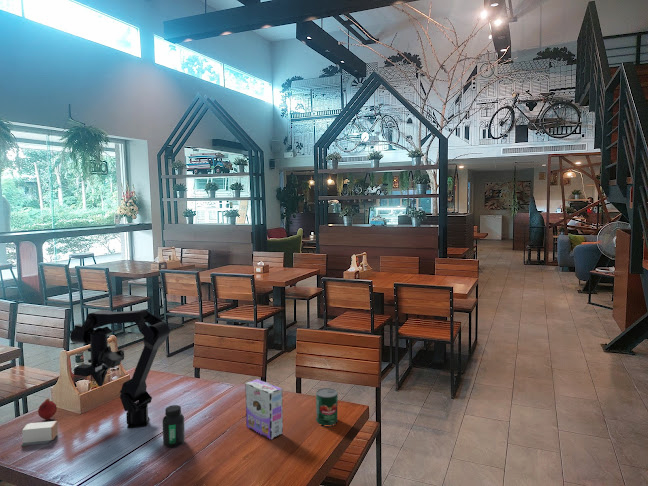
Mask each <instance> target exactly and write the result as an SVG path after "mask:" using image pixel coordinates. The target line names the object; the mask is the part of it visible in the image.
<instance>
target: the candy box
mask: <svg viewBox="0 0 648 486" xmlns="http://www.w3.org/2000/svg"><path fill="white" fill-rule="evenodd" d="M244 384H245V417H246V418H245V419H246V421H245V422H246V423H245V426H246V428H247V427H248V429H249V428H250V430H251V429H252V430H251V431H253V430H254V431H253V432H255V431H256V432H255V433H257V432H258V433H257V434H259V433H260V434H259V435H260V436H262V437H265V436H266V437H267V438H266V437H265V438H266V439H268V438H269V440H270V439H271V440H273V438H274V437H276V438H277V436H278V437H280V436H282V435H283V434H284V432H283V431H284V428H283V426H284V425H283V424H284V423H283V422H284V421H283V416H284V415H283V411H284V409H283V388H281V387H279V386H277V385H274V384H271V383H269V382H266V381H264V380H261V379H259V378H256V379H254V380H250V381H247V382H245V383H244ZM282 433H283V434H282ZM281 434H282V435H281ZM279 435H280V436H279ZM274 439H275V438H274Z"/></svg>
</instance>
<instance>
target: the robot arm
mask: <svg viewBox="0 0 648 486" xmlns="http://www.w3.org/2000/svg"><path fill="white" fill-rule="evenodd" d="M84 320H85V321H84V322H83V323H78V324H75V325H74V328H73V329H72V330H71V333H70V335H69V338H70V341H71V343H74V344H84V345H90V346H89V348H87V352H90V358H89V359H88V360H87V362H88V363H90V364H88V363H87V364H86V363H82V364H80V365H77V366H75V367H74V368H73V375H74V376H79V377H85V378H87V377H89V376H91V377H92V378H93V379H94V381H95V383H96V384H97V386H98V387H99V388H100V387H103V386H104V382H105V379H106V376H107V373H108V371H109V370H110V369H114V368H115V367H118V366H120V365H121V362H122V361H124V360H125V351H124V350H123V349H118V350H117V351H112V348H111V346H109V345H108V335H109V334H111V333H112V332H113V330H112V329H111V328H109V326H107V325H114V324H115V325H116V324H128V323H129V324H130V323H135V325H136V326H137V328H138V331H139V333H140V334H142V336H143V337H142V341H143V344H144V345H143V349H142V351H141V354H140V356H139V358H138V361H137V364H136V366H135V369H134V372H133V374H132V377H131V378H130V379H128V380H125V381H124V382H123V383H122V385H121V389H120V391H119V399H120V401H121V405H122V406H123V409H124V412H126V415H125V416H126V424H127V426H126V427H127V429H131V428H141V427H142V428H143V427H146V426H148V423H149V421H150V416H149V407H148V405H149V404H151V402H152V399H153V397H152V396H151V395H150V394H149V392H148V391H147V387H148V386H147V381H146V380H147V378H148V376H149V373H150V370H151V368H152V365H153V363H154V361H155V357H156V355H157V353H158V350H159V348H160V347H161V346H162V345H163V343H164V342H165V341H166V340H167V338H168V336H169V335H170V333H171V329H170V327H169V325H168V324H167V322H165V321H164V320H162V319H161V318H160V317H158V316H156V315H154V314H153V313H151V312H150V311H148V310H147V309H140V310H139V309H138V310H125V311H112V310H110V309H99V310H97V311H93V312H90V313H87V315H86V319H84ZM149 324H150V325H149Z"/></svg>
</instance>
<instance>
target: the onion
mask: <svg viewBox="0 0 648 486" xmlns="http://www.w3.org/2000/svg"><path fill="white" fill-rule="evenodd" d="M37 410H38V412H37V413H38V416H39V417H40V419H43V420H47V421H49V420H51V418H53V416H55V414H56V413H57V410H58V407H57V404H56V403H55V402H54V401H52V400H50V398H49V397H48V398H46V399H45V400H44V401H43V402H42V403H41V404H40V405H39V407H38V409H37Z"/></svg>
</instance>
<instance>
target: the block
mask: <svg viewBox="0 0 648 486" xmlns="http://www.w3.org/2000/svg"><path fill="white" fill-rule="evenodd" d="M58 428H59V427H58V420H52V421H42V422H30V423H27V424H26V425H25V426H24V428H23V429H22V434H21V435H22V444H23V443H29V442H39V441H49V440H51V441H53V440H54V439H55V438H56V437H57V435H58V433H59V432H58V431H59V430H58Z"/></svg>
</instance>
